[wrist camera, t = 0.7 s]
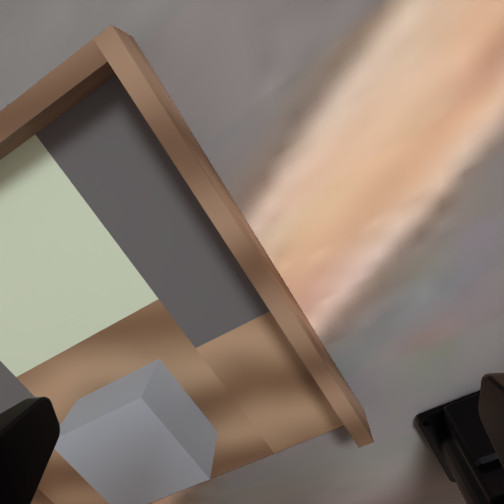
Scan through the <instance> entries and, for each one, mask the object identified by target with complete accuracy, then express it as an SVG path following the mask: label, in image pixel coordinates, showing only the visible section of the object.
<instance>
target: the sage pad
mask: <svg viewBox="0 0 504 504" xmlns="http://www.w3.org/2000/svg"><path fill="white" fill-rule="evenodd" d="M156 300H158V298H157V296H156V295H155V294H154V292H153V291H152V290H151V288H150V287H149V286H148V284H147V283H146V282H145V280H144V279H143V278H142V276H141V275H140V274H139V272H138V271H137V270H136V268H135V267H134V266H133V264H132V263H131V262H130V260H129V259H128V257H127V256H126V255H125V253H124V252H123V251H122V249H121V248H120V247H119V245H118V244H117V243H116V241H115V240H114V239H113V237H112V236H111V235H110V233H109V232H108V231H107V229H106V228H105V227H104V225H103V224H102V223H101V221H100V220H99V219H98V217H97V216H96V215H95V213H94V212H93V211H92V209H91V208H90V207H89V205H88V204H87V203H86V201H85V200H84V199H83V197H82V196H81V195H80V193H79V192H78V191H77V189H76V188H75V187H74V185H73V184H72V183H71V181H70V180H69V179H68V177H67V176H66V175H65V173H64V172H63V171H62V169H61V168H60V167H59V165H58V164H57V163H56V161H55V160H54V159H53V157H52V156H51V155H50V153H49V152H48V151H47V149H46V148H45V147H44V145H43V144H42V143H41V141H40V140H39V139H38V137H37V136H36V135H33V136H32V137H31V138H29V139H28V140H27V141H25V142H24V143H22V144H21V145H20V146H18V147H17V148H16V149H14V150H13V151H12V152H10V153H9V154H8V155H6V156H5V157H4V158H2V159H1V160H0V361H1V362H2V363H3V364H4V365H5V366H6V367H7V368H8V369H9V370H10V371H11V372H12V374H13V375H14V376H15V377H17V376H19V375H21V374H23V373H25V372H27V371H28V370H30V369H32V368H34V367H36V366H37V365H39V364H41V363H43V362H45V361H47V360H48V359H50V358H52V357H54V356H56V355H58V354H59V353H61V352H63V351H65V350H67V349H68V348H70V347H72V346H74V345H76V344H78V343H79V342H81V341H83V340H85V339H87V338H88V337H90V336H92V335H94V334H96V333H98V332H99V331H101V330H103V329H105V328H107V327H109V326H110V325H112V324H114V323H116V322H118V321H119V320H121V319H123V318H125V317H127V316H129V315H130V314H132V313H134V312H136V311H138V310H139V309H141V308H143V307H145V306H147V305H149V304H150V303H152V302H154V301H156Z"/></svg>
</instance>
